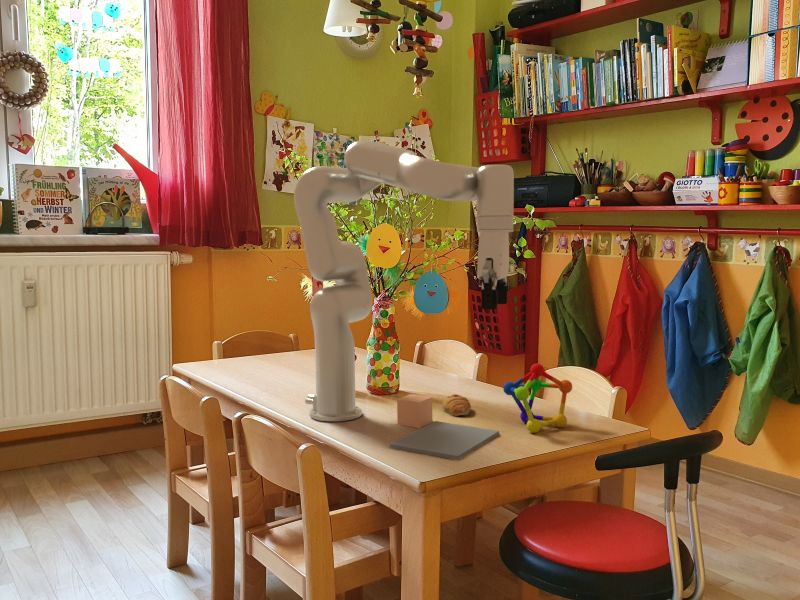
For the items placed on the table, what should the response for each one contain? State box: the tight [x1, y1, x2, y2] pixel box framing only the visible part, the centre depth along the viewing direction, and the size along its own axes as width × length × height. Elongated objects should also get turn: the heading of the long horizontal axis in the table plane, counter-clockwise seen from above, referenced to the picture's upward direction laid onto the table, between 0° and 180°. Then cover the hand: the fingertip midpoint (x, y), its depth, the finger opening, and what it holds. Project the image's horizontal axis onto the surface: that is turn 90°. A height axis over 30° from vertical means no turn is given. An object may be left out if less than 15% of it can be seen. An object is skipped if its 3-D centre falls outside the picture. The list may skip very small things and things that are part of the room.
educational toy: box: [502, 363, 573, 434], centre depth 167 cm, size 16×13×15 cm
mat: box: [389, 420, 500, 461], centre depth 158 cm, size 16×20×1 cm
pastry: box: [442, 393, 472, 417], centre depth 181 cm, size 9×7×4 cm
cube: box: [396, 393, 433, 429], centre depth 172 cm, size 6×6×6 cm
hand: (494, 306), depth 154 cm, fingers open, 9 cm apart
